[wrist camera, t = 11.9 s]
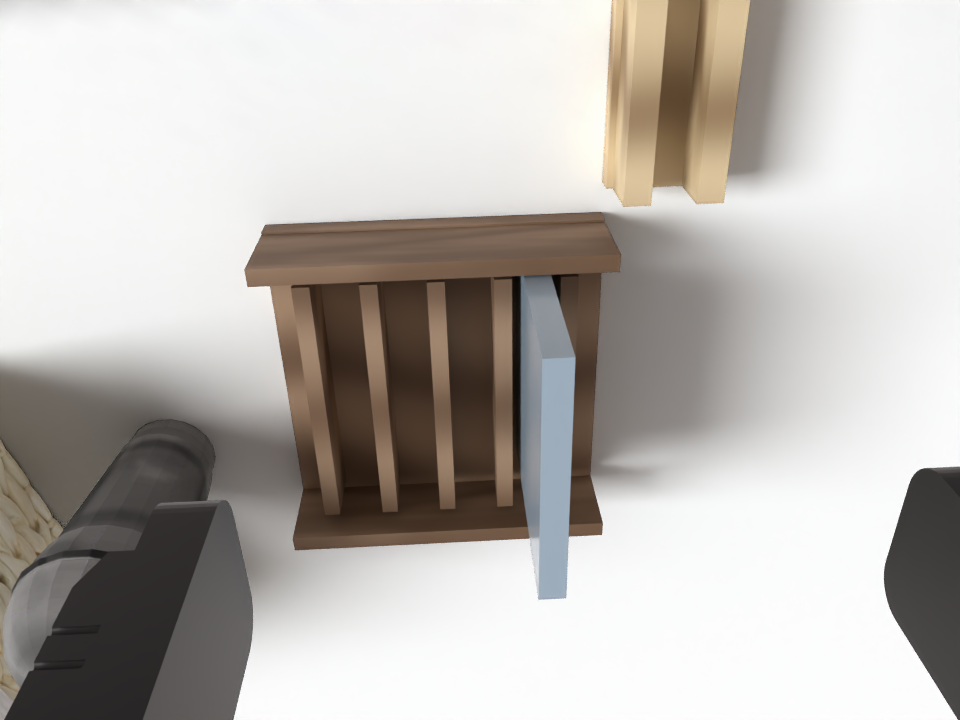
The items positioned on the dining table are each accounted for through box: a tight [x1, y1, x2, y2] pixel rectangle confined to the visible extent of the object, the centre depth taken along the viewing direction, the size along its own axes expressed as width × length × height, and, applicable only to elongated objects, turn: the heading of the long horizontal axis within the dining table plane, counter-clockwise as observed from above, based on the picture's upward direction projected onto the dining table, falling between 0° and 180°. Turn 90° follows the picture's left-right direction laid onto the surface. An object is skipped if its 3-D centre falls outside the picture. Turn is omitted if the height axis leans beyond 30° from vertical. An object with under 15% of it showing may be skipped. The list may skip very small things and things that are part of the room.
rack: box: [245, 212, 621, 550], centre depth 41 cm, size 16×16×5 cm
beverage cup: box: [3, 420, 215, 688], centre depth 37 cm, size 7×7×20 cm
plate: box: [516, 275, 576, 600], centre depth 37 cm, size 12×1×11 cm, turn 1°
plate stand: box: [602, 0, 750, 207], centre depth 35 cm, size 9×5×4 cm, turn 1°
